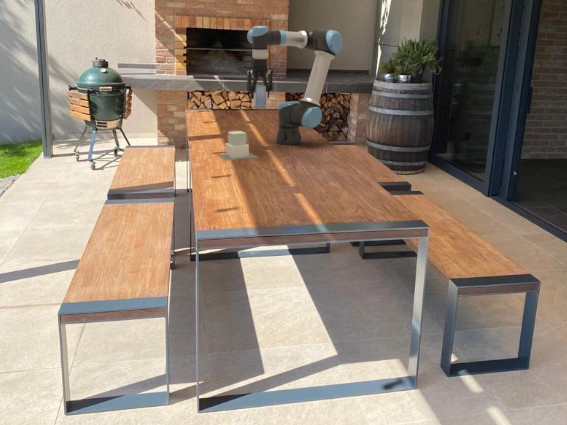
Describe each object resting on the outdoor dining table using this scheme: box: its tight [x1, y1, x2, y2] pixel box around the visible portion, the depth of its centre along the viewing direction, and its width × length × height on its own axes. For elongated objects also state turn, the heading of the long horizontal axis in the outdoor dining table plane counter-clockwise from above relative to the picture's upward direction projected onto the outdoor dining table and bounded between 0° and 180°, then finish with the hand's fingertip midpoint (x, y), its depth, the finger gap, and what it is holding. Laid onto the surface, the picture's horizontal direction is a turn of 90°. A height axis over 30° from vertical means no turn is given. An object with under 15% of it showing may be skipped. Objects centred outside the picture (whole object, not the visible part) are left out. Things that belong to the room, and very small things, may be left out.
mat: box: [216, 152, 260, 161], centre depth 326 cm, size 18×14×1 cm
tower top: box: [227, 130, 246, 146], centre depth 323 cm, size 7×7×6 cm
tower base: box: [225, 142, 250, 159], centre depth 325 cm, size 9×9×6 cm
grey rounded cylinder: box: [253, 84, 267, 109], centre depth 326 cm, size 6×6×11 cm
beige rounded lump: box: [243, 131, 250, 146], centre depth 345 cm, size 10×10×10 cm
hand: (259, 104), depth 327 cm, fingers closed on grey rounded cylinder, 6 cm apart
